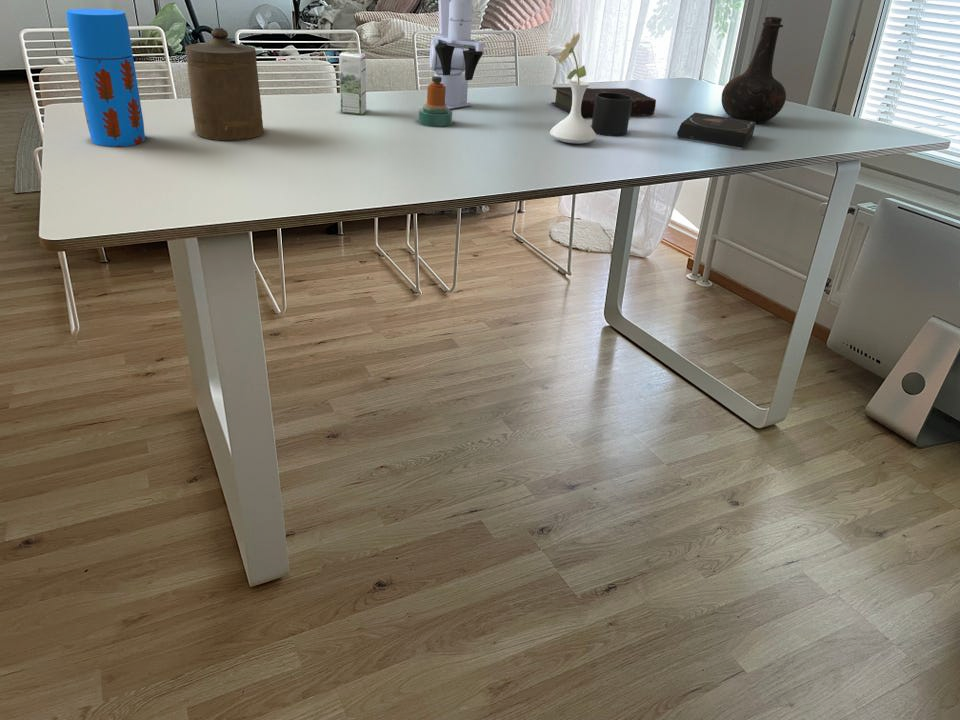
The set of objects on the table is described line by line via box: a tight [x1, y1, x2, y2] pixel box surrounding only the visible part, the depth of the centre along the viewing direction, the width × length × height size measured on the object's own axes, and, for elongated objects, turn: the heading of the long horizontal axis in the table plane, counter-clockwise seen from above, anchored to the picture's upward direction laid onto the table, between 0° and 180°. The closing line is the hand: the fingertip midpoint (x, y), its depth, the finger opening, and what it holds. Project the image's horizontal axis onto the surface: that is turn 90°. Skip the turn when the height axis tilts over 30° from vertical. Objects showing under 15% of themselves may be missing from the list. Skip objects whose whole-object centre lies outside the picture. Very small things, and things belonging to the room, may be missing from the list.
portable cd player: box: [676, 112, 757, 150], centre depth 196 cm, size 16×17×4 cm
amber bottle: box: [426, 75, 446, 106], centre depth 187 cm, size 5×5×6 cm
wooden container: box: [185, 27, 264, 141], centre depth 164 cm, size 15×15×22 cm
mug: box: [590, 93, 632, 137], centre depth 193 cm, size 9×12×9 cm
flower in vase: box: [549, 32, 597, 144], centre depth 177 cm, size 13×11×25 cm
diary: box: [550, 86, 657, 117], centre depth 217 cm, size 19×25×5 cm
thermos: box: [65, 8, 146, 148], centre depth 152 cm, size 11×11×25 cm
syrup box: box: [338, 51, 367, 115], centre depth 192 cm, size 6×6×14 cm
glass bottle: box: [721, 16, 787, 124], centre depth 213 cm, size 18×18×28 cm
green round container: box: [418, 101, 454, 128], centre depth 190 cm, size 9×9×5 cm
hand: (457, 77), depth 191 cm, fingers open, 7 cm apart
